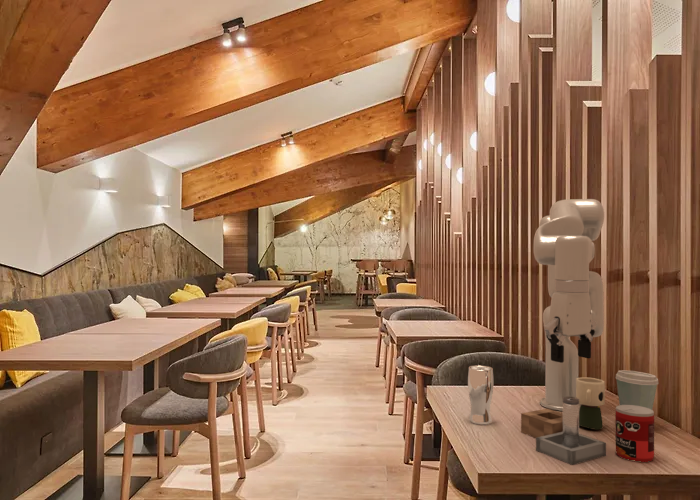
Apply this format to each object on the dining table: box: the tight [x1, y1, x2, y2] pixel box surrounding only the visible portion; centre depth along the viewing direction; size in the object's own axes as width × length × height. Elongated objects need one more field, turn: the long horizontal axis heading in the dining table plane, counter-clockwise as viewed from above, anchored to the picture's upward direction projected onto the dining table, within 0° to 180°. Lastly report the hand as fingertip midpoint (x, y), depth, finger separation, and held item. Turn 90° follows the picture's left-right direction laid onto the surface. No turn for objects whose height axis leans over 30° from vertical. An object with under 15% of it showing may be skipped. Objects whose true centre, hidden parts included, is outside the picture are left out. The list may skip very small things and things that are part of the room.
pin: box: [562, 396, 580, 449], centre depth 124 cm, size 4×4×12 cm
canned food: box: [614, 404, 655, 463], centre depth 122 cm, size 8×8×11 cm
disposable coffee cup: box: [615, 369, 659, 410], centre depth 145 cm, size 11×11×15 cm
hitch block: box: [520, 408, 563, 439], centre depth 136 cm, size 10×10×5 cm
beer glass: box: [467, 365, 494, 426], centre depth 147 cm, size 7×7×15 cm
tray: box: [535, 432, 607, 466], centre depth 124 cm, size 12×10×3 cm
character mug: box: [576, 376, 606, 430], centre depth 143 cm, size 11×7×13 cm, turn 150°
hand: (571, 359), depth 124 cm, fingers open, 9 cm apart
